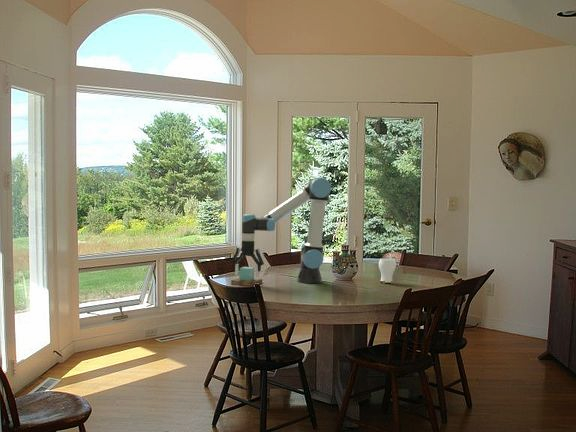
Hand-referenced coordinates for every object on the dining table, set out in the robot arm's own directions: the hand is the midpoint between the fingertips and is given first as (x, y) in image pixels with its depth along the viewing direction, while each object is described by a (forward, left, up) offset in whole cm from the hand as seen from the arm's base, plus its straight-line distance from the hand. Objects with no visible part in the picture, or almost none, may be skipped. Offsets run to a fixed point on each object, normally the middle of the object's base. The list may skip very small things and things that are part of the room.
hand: (247, 275), depth 371 cm
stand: (0, 0, -5) cm, 5 cm away
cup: (-74, -49, -5) cm, 89 cm away
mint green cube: (0, 0, -2) cm, 2 cm away
